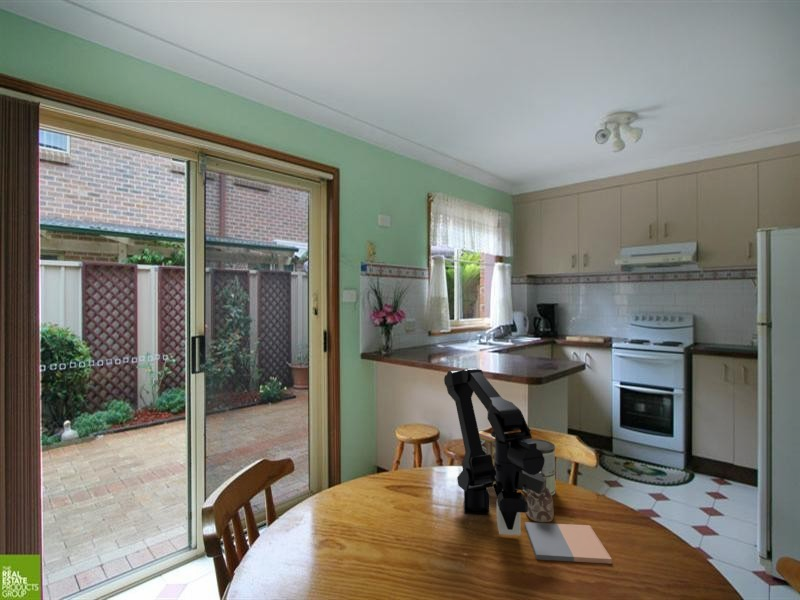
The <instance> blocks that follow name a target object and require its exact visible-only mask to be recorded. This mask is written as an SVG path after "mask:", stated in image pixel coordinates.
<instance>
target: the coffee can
mask: <svg viewBox="0 0 800 600" xmlns="http://www.w3.org/2000/svg"><path fill="white" fill-rule="evenodd" d="M527 440H528V441H531V442H534V443H536V444H537V449H538V450H540V451H541V452H542V454H543V457H544V460H545V461H544V466H543V468H542V472H543V473H544V474H545V476H546V478H547V479H546V487H547V488H548V489H549V491H550V493H551V495H552V496H554V495H555V494H556V465H555V464H556V459H555V457H556V456H555V455H556V453H555V449H556V445H555V444H554V443H553V442H552V441H548V440H545V439H542V438H541V439H540V438H531V439H527ZM521 491H522V492H523V493H525V494H527V492H528V489H527V488H525V487H523V490H521Z"/></svg>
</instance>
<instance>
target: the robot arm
mask: <svg viewBox="0 0 800 600" xmlns="http://www.w3.org/2000/svg"><path fill="white" fill-rule="evenodd" d="M483 372H484V371H483V370H482V369H481V368H479V367H469V368H465V369H460V370H448V371H447V373H446V374H445V376H444V379H443V381H444V386H445V388H446V391H447V393H448V395H449V396H450V397H451V399H452V400H453V401H454V403H455V407H456V411H457V412H456V413H457V416H458V417H457V418H458V421H459V427H460V428H459V429H460V431H461V438H462V441H463V442H462V443H463V447H464V452H465V453H464V456H463V459H462V462H461V467H462V471H460V473H459V474H458V476H457V477H456V478H457V479H456V480H457V485H458V487H459V488H461V489H462V490H463V513H464V514H474V515H488V514H489V509H490V492H489V490H488V489H489V488H492V487H494V488H493V490H494V493H495V496H496V504H497V503H498V506H499V510H500V511H501V514H502V516H503V518H504V521H505V523H506V526H507V529H508V530H512V529H513V526H514V522H515V518H516V514H517V512H520V513H525V514H526V512H528V503H527V497H526V496H525V495H524V494H523V493H522V492H520V491H522V490H523V487H525V488H527V489H530V490H532V491H535V492H536V493H537V494H541V492H542V489H543V486H544V483H545V480H544V479H543V477H542V476H541V475H540V474H539V472H540V471H541V470H542V468H543V466H544V461H545V460H544V457H543V454H542V452H541V451H540V450H538V449H537V444H536V443H534V442H531V441H528V440H527V439H533V435H532V434H531V429H530V427H529V425H528V424H527V421H526V420H525V417H524V414H523V412H522V410H521V409H520V408H519V407H518V406H516V405H515V404H514V403H513V402H511V401H509V400H507V399H504V398H503V397H502V396H501V395H500V394H499V393H498V391H497V389H496V388H494V386H493V385H492V384H491V383H490V381H489V380H488V379H487V377H486V376H485V375H484V373H483ZM473 394H474V395H475V396H476V397H477V398H478V400H479V401H480V403H482V405H483V407H484V408H485V410H486V411H487V420H488V422H489V424H490V427H491V428H492V430H493V431H491V433H490V434H491V436H493V437H494V438H495V466H496V468H494V466H493V462H492V457H491V455H490V454H489V455H487V454H486V453H485V451H484V450H483V449H482V445H481V440H480V435H479V431H480V430H479V427H478V423H477V417H476V413H475V409H474V404H473V400H472V397H473ZM517 431H518V432H517ZM493 482H496V484H493ZM497 499H498V500H497Z"/></svg>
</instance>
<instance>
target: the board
mask: <svg viewBox="0 0 800 600" xmlns="http://www.w3.org/2000/svg"><path fill="white" fill-rule="evenodd" d="M524 527H525V531H526V533H527V535H528V539H529V541H530V545H531V547H532V549H533V550H532V551H533V553H534V555H535V558H536V560H544V561H545V560H546V561H558V562H560V561H561V562H577V563H578V562H579V563H595V564H609V565H612V564H613V560H612V557H611V555H610V554H609V553H608V551H607V549H606V548H605V546H604V545H603V544H602V541H601V540H600V539H599V537H598V536H597V534H596V533H595V531H594V529H593V528H592V526H591V525H589V524H571V523H570V524H568V523H551V522H528V521H527V522H526V521H524Z"/></svg>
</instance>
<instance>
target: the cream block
mask: <svg viewBox="0 0 800 600" xmlns="http://www.w3.org/2000/svg"><path fill="white" fill-rule="evenodd" d="M497 500H498V498H496V501H497ZM521 518H522V517H521V512H517V514H516V518H515V522H514V526H513V529H512V530H508V529H507V526H506V523H505V521H504V518H503V516H502V514H501V511H500V510H499V506H498V503H497V502H496V526H497V531H498V534H499V535H507V536H508V535H509V536H510V535H511V536H521V535H522V534H521V533H522V531H521V530H522V528H521V527H522V525H521V524H522V523H521V522H522V521H521Z"/></svg>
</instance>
